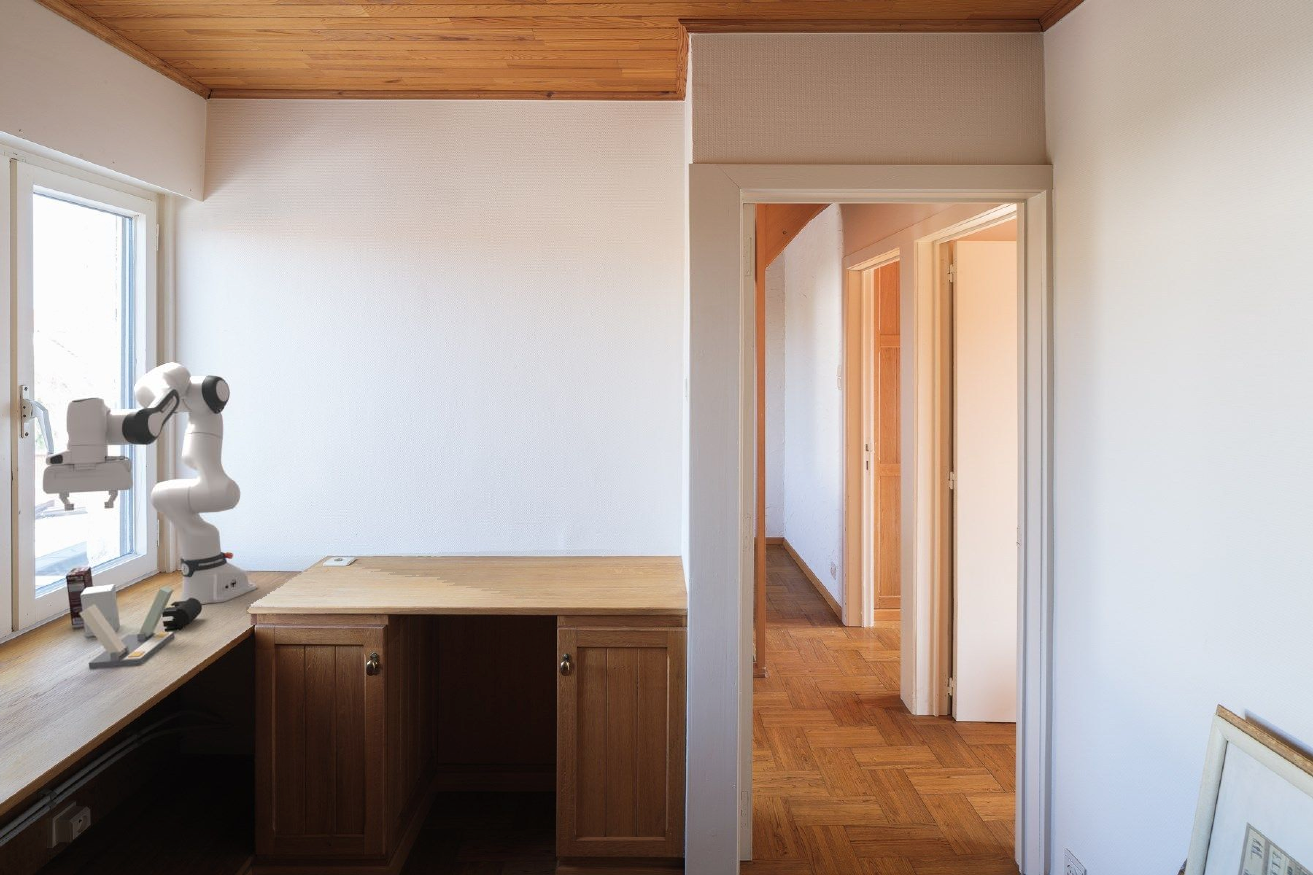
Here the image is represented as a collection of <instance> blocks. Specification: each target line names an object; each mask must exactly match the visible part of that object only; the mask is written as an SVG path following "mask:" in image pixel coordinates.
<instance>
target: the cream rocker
mask: <svg viewBox="0 0 1313 875" xmlns="http://www.w3.org/2000/svg"><path fill="white" fill-rule="evenodd" d="M79 614H80V615H81V617H82V618H83V619H84V621H85V622H86V624H87V625H88V626H89V628H90V629H91V630H92V632H93V633H94V634H95V637H96V639H97V640H98V641H99V643H100V644H101V645H102V646H103V648H104V649H105V651H107V652H108V653H109V655H110V653H113V652H118V653H119V656H121V655H122V654H123V653H125V648H126V646H125V645H124V644H123V642H122V641H121V638H120V637H119V635H118V634H117V633H116V632H115V631H114V630H113V628H112V627H111V626H110V624H109V623H108V622H107V620H106V619H105V618H104V616H103V615H102V613H101V612H100V611H99V609H98V608H97V607H96V605H95V604H94V605H92V606H91V607H89V608H87V609H85V610H84V611H82V612H80V613H79Z"/></svg>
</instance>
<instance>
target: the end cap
mask: <svg viewBox="0 0 1313 875" xmlns="http://www.w3.org/2000/svg"><path fill="white" fill-rule="evenodd" d="M202 609H203V604H201V603H200V602H199V601H198V600H197V599H195V598H189V599H188V600H187V601H180V600H179V601H178V600H177V601H173V602H172V603H171V604H170V606H169V607H165V609H164V611H163V613H162V615H161V617H162V618H169V617H170V618H171V617H172V618H171V620H170V619H169V620H162V624H163V627H164V631H165V632H175V631H176V632H178V631H181V630H183V629H184V628H186V626H188V625H189V624H191V623H192V622H193V621H194V620H195V619H196V618H197V617H198V616H200V615H201V613H202V611H203V610H202ZM177 630H178V631H177Z"/></svg>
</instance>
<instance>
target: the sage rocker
mask: <svg viewBox="0 0 1313 875" xmlns="http://www.w3.org/2000/svg"><path fill="white" fill-rule="evenodd" d="M174 590H175V589H174V587H173V588H172V587H170V586H167V585H164V586H163V587H161V588H160V589H159V590H158V593H157V594H156V597H155V598H154V601H153V603H152V604H151V606H150V609H149V610H148V613H147V615H146V618H145V620H144V622H143V623H142V626H141V628H140V629H139V632H138V633H145V637H146V636H147V637H148V636H149V635H151V634H152V633H153V632H154V633H155V630H156V628H157V626H158V624H159V622H160V620H161V617H162V613H163V611H164V609H165V608H167V607H166V606H167V604H168V603H169V600H170V598H171V596H172V594H173V592H174Z"/></svg>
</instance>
